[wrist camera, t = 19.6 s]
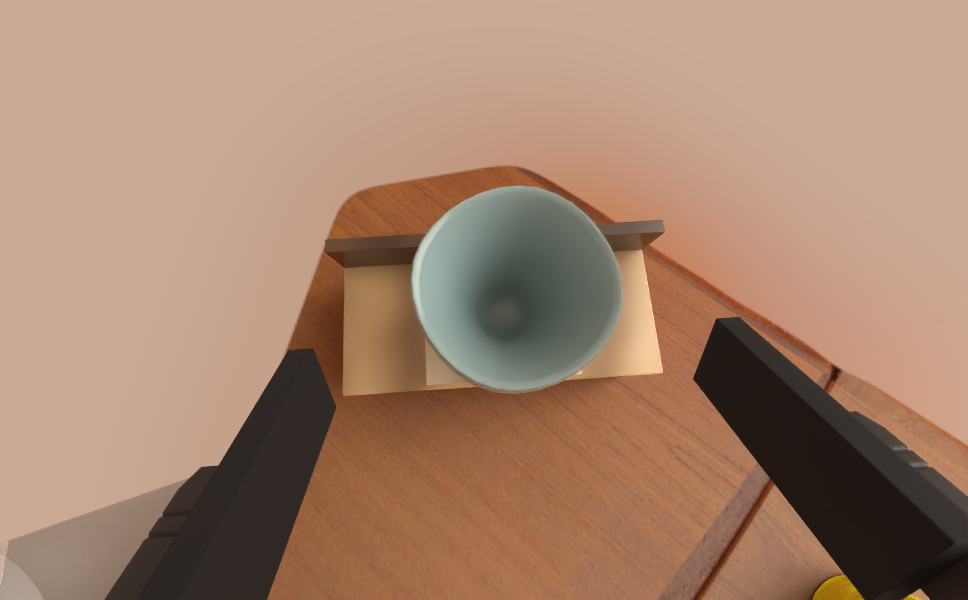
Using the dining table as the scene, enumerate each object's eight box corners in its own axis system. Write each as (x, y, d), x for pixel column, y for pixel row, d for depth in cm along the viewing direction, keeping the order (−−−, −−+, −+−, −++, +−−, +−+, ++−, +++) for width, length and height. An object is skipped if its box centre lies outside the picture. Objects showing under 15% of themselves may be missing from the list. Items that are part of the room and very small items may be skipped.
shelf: (371, 392, 27) (320, 399, 19) (371, 280, 29) (325, 239, 21) (625, 374, 28) (692, 373, 19) (608, 265, 30) (662, 219, 21)
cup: (585, 342, 22) (669, 314, 13) (481, 411, 21) (484, 440, 12) (517, 243, 24) (544, 149, 14) (416, 304, 23) (369, 249, 13)
